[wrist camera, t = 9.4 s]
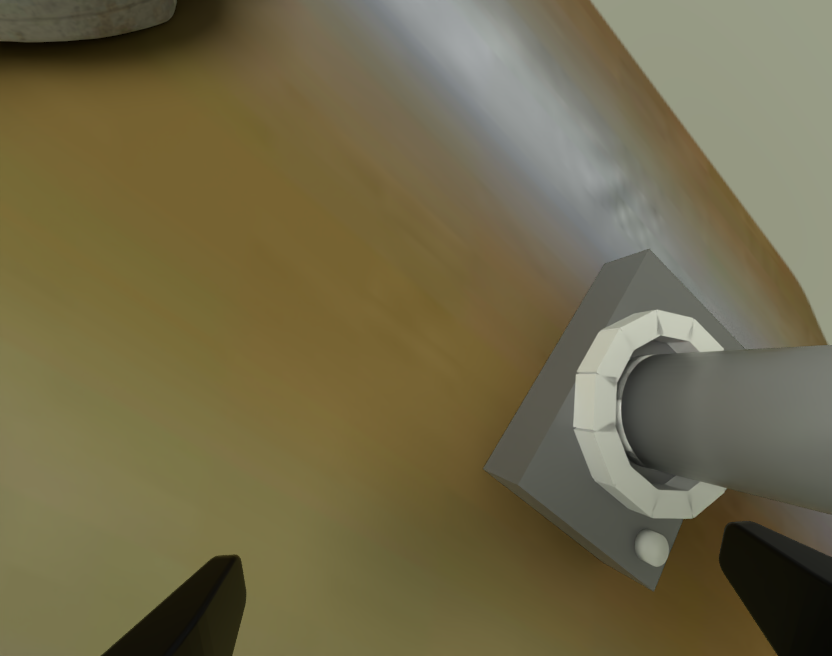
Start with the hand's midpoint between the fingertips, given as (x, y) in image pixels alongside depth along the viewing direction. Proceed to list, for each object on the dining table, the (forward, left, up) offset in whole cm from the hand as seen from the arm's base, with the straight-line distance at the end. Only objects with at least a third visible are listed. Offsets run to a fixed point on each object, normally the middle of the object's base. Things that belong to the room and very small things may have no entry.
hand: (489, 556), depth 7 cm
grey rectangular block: (+3, -13, -11) cm, 18 cm away
